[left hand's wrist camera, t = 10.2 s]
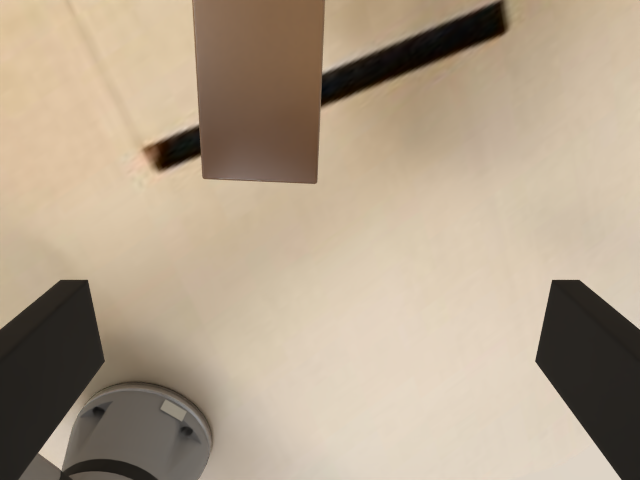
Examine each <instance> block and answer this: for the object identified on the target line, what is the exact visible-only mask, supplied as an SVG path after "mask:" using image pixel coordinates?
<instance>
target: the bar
mask: <svg viewBox="0 0 640 480" xmlns="http://www.w3.org/2000/svg"><path fill="white" fill-rule="evenodd" d="M192 5H193V22H194V39H195V56H196V74H197V91H198V108H199V126H200V143H201V160H202V177H203V178H204V179H216V180H239V181H262V182H284V183H307V184H316V183H317V175H318V154H319V132H320V108H321V85H322V61H323V37H324V14H325V0H192Z"/></svg>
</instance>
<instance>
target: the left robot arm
mask: <svg viewBox="0 0 640 480" xmlns="http://www.w3.org/2000/svg"><path fill="white" fill-rule="evenodd" d="M104 362H105V360H104V355H103V351H102V346H101V341H100V336H99V331H98V327H97V322H96V317H95V312H94V307H93V303H92V298H91V293H90V288H89V283H88V280H60V281H59V282H58V283H56V284H55V285H54V286H53V287H52V288H50V289H49V290H48V291H47V292H45V293H44V294H43V295H42V296H41V297H39V298H38V299H37V300H36V301H35V302H33V303H32V304H31V305H30V306H28V307H27V308H26V309H25V310H24V311H22V312H21V313H20V314H19V315H18V316H16V317H15V318H14V319H13V320H11V321H10V322H9V323H8V324H7V325H5V326H4V327H3V328H2V329H1V330H0V480H198V479H199V477H200V476H201V474H202V472H203V470H204V468H205V466H206V464H207V461H208V458H209V455H210V452H211V447H212V435H211V430H210V427H209V425H208V423H207V421H206V419H205V417H204V416H203V414H202V413H201V412H200V410H199V409H198V408H197V407H196V406H195V405H194V404H193V403H191V402H190V401H189V400H188V399H186V398H185V397H183V396H182V395H180V394H178V393H176V392H174V391H172V390H170V389H167V388H165V387H162V386H158V385H154V384H149V383H137V382H132V383H122V384H117V385H113V386H110V387H108V388H105V389H103V390H101V391H99V392H98V393H96V394H95V395H94V396H93V397H92V398H90V399H89V401H88V402H87V403H86V404H85V406H84V407H83V409H82V410H81V412H80V413H79V415H78V416H77V419H76V421H75V423H74V425H73V427H72V431H71V435H70V439H69V443H68V447H67V451H66V455H65V459H64V463H63V467H62V471H61V470H60V469H59V468H57V467H56V466H55V465H53V464H52V463H51V462H49V461H48V460H47V459H45V458H44V457H43V456H41V455H40V454H39V453H38V452H39V451H40V449H41V448H42V447H43V445H44V444H45V443H46V441H47V440H48V438H49V437H50V436H51V434H52V433H53V432H54V430H55V429H56V427H57V426H58V425H59V423H60V422H61V421H62V419H63V418H64V416H65V415H66V414H67V412H68V411H69V410H70V408H71V407H72V406H73V404H74V403H75V401H76V400H77V399H78V397H79V396H80V395H81V393H82V392H83V390H84V389H85V388H86V386H87V385H88V384H89V382H90V381H91V380H92V378H93V377H94V375H95V374H96V373H97V371H98V370H99V369H100V367H101V366H102V364H103V363H104ZM535 362H536V363H537V364H538V366H539V367H540V369H541V370H542V371H543V373H544V374H545V375H546V377H547V378H548V380H549V381H550V382H551V384H552V385H553V386H554V388H555V389H556V390H557V392H558V393H559V395H560V396H561V397H562V399H563V400H564V401H565V403H566V404H567V406H568V407H569V408H570V410H571V411H572V412H573V414H574V415H575V416H576V418H577V419H578V421H579V422H580V423H581V425H582V426H583V427H584V429H585V430H586V432H587V433H588V434H589V436H590V437H591V438H592V440H593V441H594V443H595V444H596V445H597V447H598V448H599V449H600V451H601V452H602V453H603V455H604V456H605V458H606V459H607V460H608V462H609V463H610V464H611V466H612V467H613V469H614V470H615V471H616V473H617V474H618V475H619V477H620V478H621V480H640V330H639V329H638V328H637V327H636V326H635V325H633V324H632V323H631V322H630V321H629V320H627V319H626V318H625V317H624V316H622V315H621V314H620V313H619V312H618V311H616V310H615V309H614V308H613V307H612V306H610V305H609V304H608V303H607V302H605V301H604V300H603V299H602V298H601V297H599V296H598V295H597V294H596V293H595V292H593V291H592V290H591V289H590V288H588V287H587V286H586V285H585V284H584V283H582V282H581V281H580V280H552V283H551V288H550V293H549V298H548V303H547V307H546V312H545V317H544V322H543V327H542V331H541V336H540V341H539V346H538V351H537V355H536V360H535Z"/></svg>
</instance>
